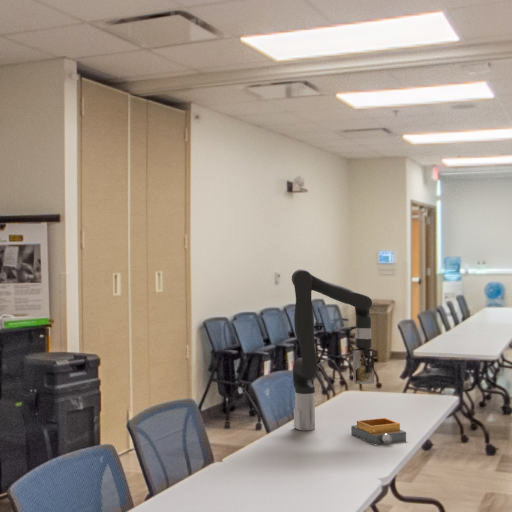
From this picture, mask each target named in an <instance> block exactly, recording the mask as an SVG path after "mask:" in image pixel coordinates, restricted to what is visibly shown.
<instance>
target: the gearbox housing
mask: <svg viewBox="0 0 512 512" xmlns="http://www.w3.org/2000/svg"><path fill="white" fill-rule="evenodd" d="M350 430H351V432H350V433H351V434H352V436H354V435H355V436H354V437H356V436H357V437H356V438H358V437H359V438H358V439H360V438H361V439H360V440H363V439H364V440H363V441H365V440H366V442H367V441H368V443H369V442H370V444H372V443H373V444H372V445H374V444H378V445H385V444H384V443H386V445H389V444H391V443H392V444H394V443H400V442H402V443H403V442H406V441H407V432H406V431H404V430H403V429H402V430H401V423H400V422H397V421H395V420H393V419H389V418H386V417H383V418H382V417H380V418H372V419H362V420H357V421H356V424H355V425H351V429H350ZM393 442H394V443H393Z"/></svg>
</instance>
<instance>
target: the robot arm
mask: <svg viewBox="0 0 512 512" xmlns="http://www.w3.org/2000/svg"><path fill="white" fill-rule="evenodd" d="M291 282H292V285H293V287H294V295H295V306H294V315H293V322H294V333H295V336H296V339H297V341H298V344H299V346H300V351H301V357H299V358H297V359H296V360H295V361H294V362H293V366H292V377H293V381H292V382H293V386H294V389H295V390H294V391H295V392H294V394H295V395H294V396H295V399H294V400H295V403H294V404H295V405H294V408H293V428H294V427H295V428H296V429H295V428H294V429H295V430H297V429H298V430H297V431H299V430H300V431H306V430H307V431H312V430H313V429H314V430H315V429H316V398H315V396H316V393H315V392H316V390H315V389H316V387H315V385H314V384H313V383H312V381H311V379H314V378H315V377H316V376H317V374H318V370H319V369H318V367H319V366H318V360H317V353H316V342H315V340H316V339H315V338H316V337H315V319H314V309H313V308H314V307H313V303H312V292H316V293H319V294H321V295H323V296H325V297H328V298H331V299H333V300H335V301H336V302H340V303H342V304H346V305H350V306H351V307H354V308H355V318H356V319H355V337H354V338H355V348H359V349H362V350H365V356H366V355H368V358H365V356H363V360H364V361H365V364H366V373H370V365H371V364H373V351H369V348H372V319H371V316H370V309H371V308H372V306H373V302H372V301H373V300H372V298H370V296H368V295H365V294H362V293H360V292H355V291H353V290H351V289H349V288H346V287H344V286H341V285H339V284H335V283H333V282H332V283H331V282H329V281H326V280H324V279H321V278H318V277H316V276H315V275H312V274H311V273H310V272H309V271H308V270H306V269H297V270H296V271H295V270H294V272H293V273H292V275H291ZM367 353H368V354H367ZM367 360H368V362H367ZM370 360H371V361H370Z"/></svg>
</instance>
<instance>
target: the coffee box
mask: <svg viewBox="0 0 512 512" xmlns="http://www.w3.org/2000/svg"><path fill="white" fill-rule="evenodd" d="M352 350H353V351H352V356H353V361H352V362H353V364H352V367H353V368H352V369H353V370H352V373H353V376H352V377H353V380H352V381H353V383H354V384H355V385H362V384H363V385H366V384H368V385H369V384H371V385H372V384H375V351H374V348H372V347H370V348H369V351H373V364H371V365H370V373H366V364H365V361H364V360H363V356H365V350H362V349H359V348H357V347H353V348H352ZM367 354H368V353H367ZM365 358H368V355H366V356H365ZM370 361H371V360H370ZM367 362H368V360H367Z"/></svg>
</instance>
